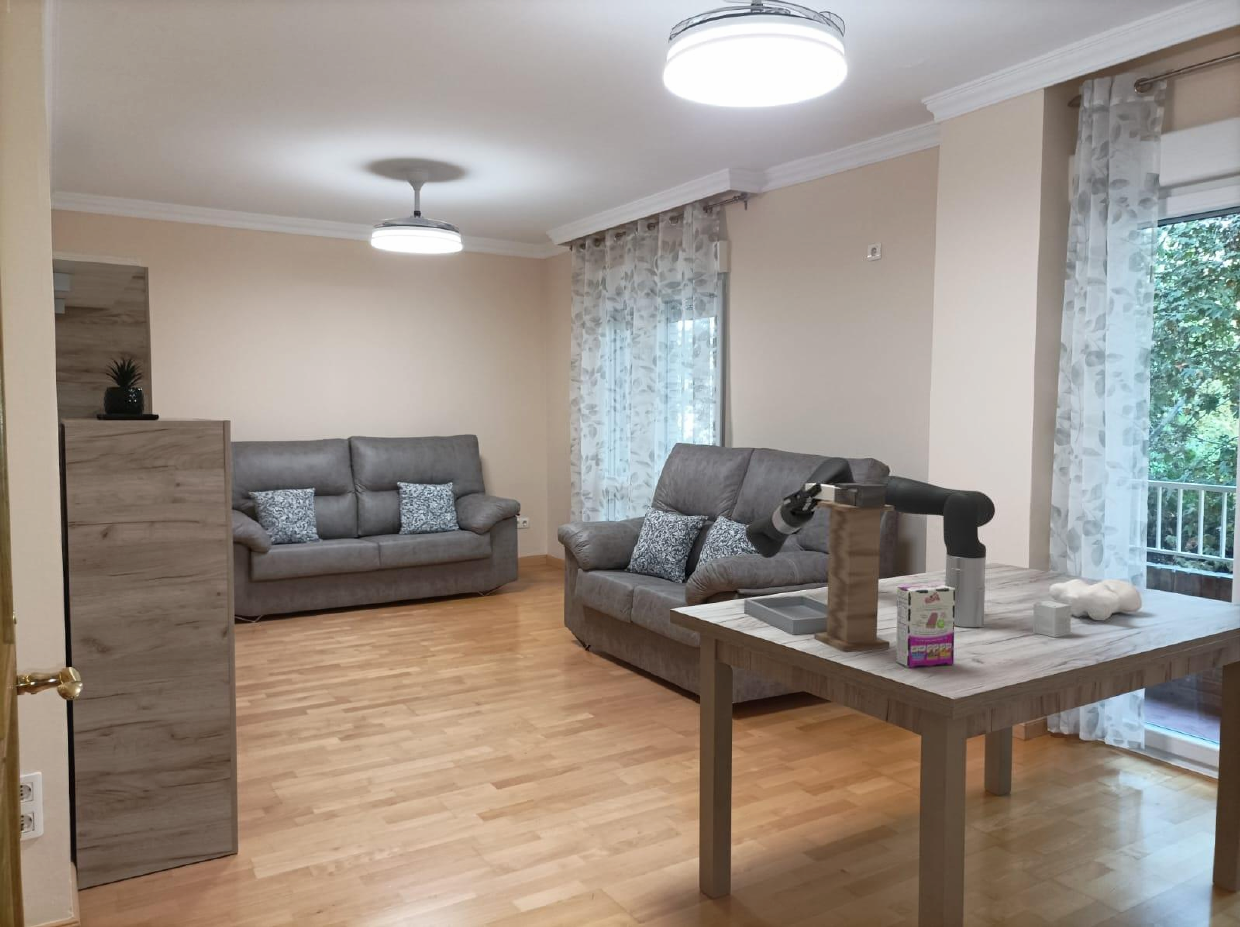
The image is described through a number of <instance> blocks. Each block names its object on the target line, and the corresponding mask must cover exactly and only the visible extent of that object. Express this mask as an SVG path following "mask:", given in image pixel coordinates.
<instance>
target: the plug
mask: <svg viewBox="0 0 1240 927" xmlns="http://www.w3.org/2000/svg"><path fill="white" fill-rule="evenodd" d="M815 484H816V483H812V484H805V490H806V489H810V488H811V487H813V486H814V485H815ZM821 488H822V491H821V492H820V493H819V494H818V495H816V496H815V497H813V498H816V499H823V500H829V501H834V492H835V489H837V488H838V487H835V486H832V485H825V484H821ZM839 489H844V488H839ZM845 490H851V491H857V489H855V488H851V489H845Z"/></svg>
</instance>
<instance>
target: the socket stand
mask: <svg viewBox="0 0 1240 927" xmlns="http://www.w3.org/2000/svg"><path fill="white" fill-rule="evenodd" d="M835 487H838V488H837V489H835V492H834V501H829V502H818V506H820V508H825V509H829V534H828V536H829V537H828V565H827V566H828V570H827V572H828V573H827V574H828V575H827V602H826V603H827V632H819V633H813V637H814V640H817V641H819V642H821V643H824V644H826V645H828V646H831V647H833V648H834V649H836V650H839V651H840V652H841V651H842V652H846V653H847V652H854V651H855V652H856V651H865V650H866V651H867V650H875V649H877V650H878V649H886V648H890V644H891V643H890V641H888V640H886V639H883V638H880V637H878V613H879V612H878V610H879V609H878V608H879V607H878V606H879V605H878V604H879V603H878V602H879V581H880V580H879V579H880V578H879V576H880V545H881V519H882V518H881V517H882V516H881V514H882V512H888V511H890V512H892V511H893V512H895V511H894V506H890V505H885V496H886V485H880V484H874V485H870V484H866V483H859V482H856V483H837V484H835ZM839 488H844V489H839ZM851 488H855V489H857V491H851V490H845V489H851Z"/></svg>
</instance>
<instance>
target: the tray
mask: <svg viewBox="0 0 1240 927" xmlns="http://www.w3.org/2000/svg"><path fill="white" fill-rule="evenodd" d="M743 603H744V604H743V605H744V606H743V608H744V609H743V613H744V614H747V615H749V616H751V617H753V618H756V619H758V620H760V621H762V622H763V623H767V624H769V625H771V626H773V627H775V628H777V629H779V630H782V631H784V632H786V633H788V634H790V635H793V636H797V635H805V634H806V635H807V634H814V633H824V632H827V602H824V601H822V600H818V599H815V598H814V597H811V596H807V595H805V594H799V595H798V594H797V595H784V596H771V597H770V596H769V597H758V598H757V597H756V598H745V599H744V602H743Z"/></svg>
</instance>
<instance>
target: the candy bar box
mask: <svg viewBox="0 0 1240 927" xmlns="http://www.w3.org/2000/svg"><path fill="white" fill-rule="evenodd" d="M896 596H897V598H896V599H897V601H896V602H897V606H896V617H897V618H896V657H895V658H896V663H897V664H899V665H900V666H904V667H906V668H908V669H912V668H913V669H915V668H927V667H939V666H949V665H950V666H952V665H954V659H955V657H954V656H955V654H954V652H955V651H954V649H955V626H954V615H955V588H952V587H949V586H946V585H945V584H929V585H928V584H925V585H911V586H898V587H897V595H896Z"/></svg>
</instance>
